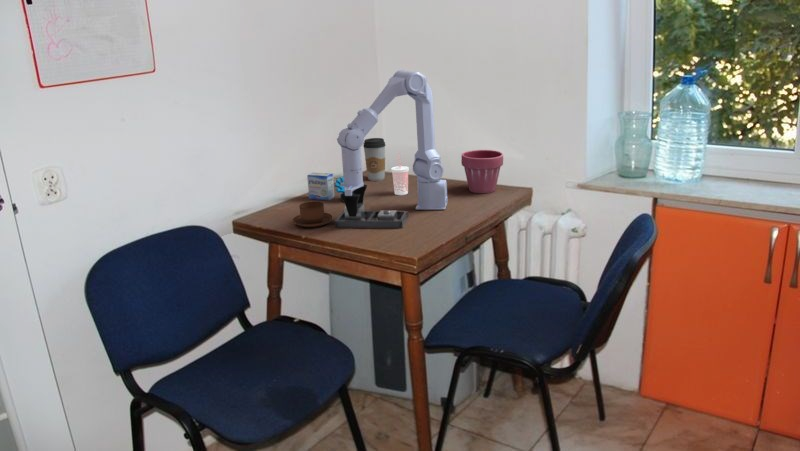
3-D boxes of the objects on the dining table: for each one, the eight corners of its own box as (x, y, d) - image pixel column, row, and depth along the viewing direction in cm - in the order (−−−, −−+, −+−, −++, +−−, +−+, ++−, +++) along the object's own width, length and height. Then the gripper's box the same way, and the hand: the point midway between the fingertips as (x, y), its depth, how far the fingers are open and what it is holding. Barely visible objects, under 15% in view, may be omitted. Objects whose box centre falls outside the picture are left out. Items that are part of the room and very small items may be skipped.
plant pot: (511, 188, 234) (511, 152, 230) (485, 197, 225) (484, 160, 221) (480, 182, 244) (480, 147, 240) (453, 190, 235) (452, 154, 231)
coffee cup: (363, 181, 253) (360, 142, 249) (368, 176, 261) (365, 137, 256) (385, 181, 252) (382, 142, 247) (389, 176, 260) (387, 137, 255)
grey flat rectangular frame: (407, 217, 209) (407, 210, 208) (402, 228, 199) (401, 221, 198) (343, 216, 213) (343, 210, 212) (335, 227, 203) (334, 221, 202)
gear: (344, 200, 224) (331, 176, 227) (336, 210, 228) (323, 187, 231) (369, 197, 232) (356, 174, 235) (360, 207, 236) (348, 184, 239)
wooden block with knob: (397, 219, 207) (396, 208, 206) (394, 224, 202) (393, 213, 201) (381, 219, 208) (380, 208, 207) (378, 224, 203) (377, 213, 202)
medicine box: (308, 199, 234) (306, 174, 232) (315, 195, 238) (312, 171, 235) (329, 200, 231) (326, 176, 229) (335, 197, 235) (332, 172, 233)
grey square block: (365, 220, 209) (363, 202, 207) (361, 225, 204) (360, 206, 202) (349, 219, 210) (348, 201, 208) (345, 224, 205) (344, 206, 203)
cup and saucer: (285, 225, 208) (283, 206, 206) (316, 215, 216) (315, 197, 214) (309, 232, 200) (307, 213, 198) (340, 222, 208) (339, 203, 206)
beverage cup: (410, 195, 233) (408, 155, 228) (392, 195, 233) (390, 156, 228) (410, 190, 238) (408, 151, 234) (392, 191, 239) (390, 152, 234)
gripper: (345, 163, 209) (348, 205, 213) (333, 175, 195) (336, 219, 200) (367, 163, 208) (370, 205, 212) (356, 174, 194) (360, 219, 198)
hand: (355, 212), depth 206 cm, fingers open, 7 cm apart
